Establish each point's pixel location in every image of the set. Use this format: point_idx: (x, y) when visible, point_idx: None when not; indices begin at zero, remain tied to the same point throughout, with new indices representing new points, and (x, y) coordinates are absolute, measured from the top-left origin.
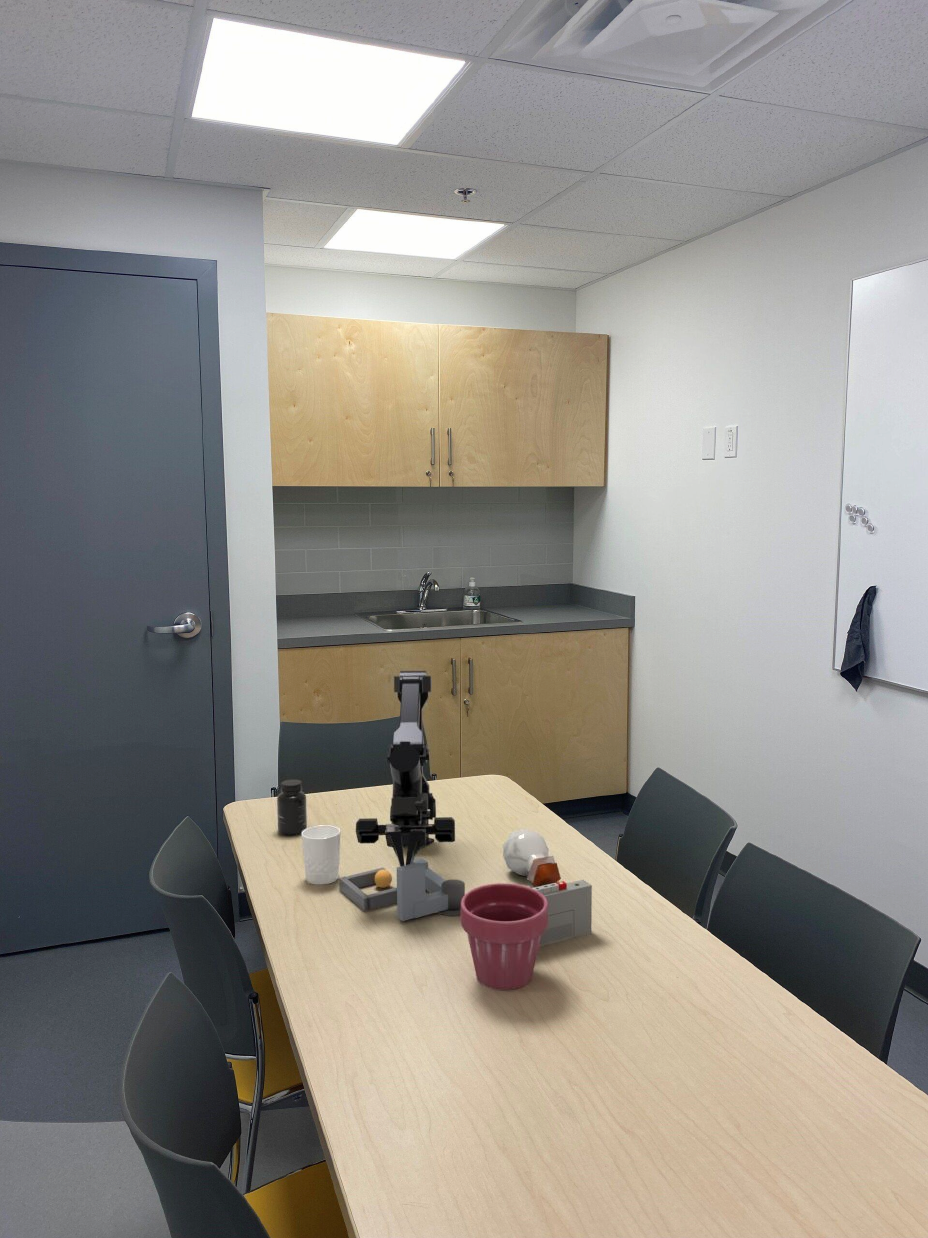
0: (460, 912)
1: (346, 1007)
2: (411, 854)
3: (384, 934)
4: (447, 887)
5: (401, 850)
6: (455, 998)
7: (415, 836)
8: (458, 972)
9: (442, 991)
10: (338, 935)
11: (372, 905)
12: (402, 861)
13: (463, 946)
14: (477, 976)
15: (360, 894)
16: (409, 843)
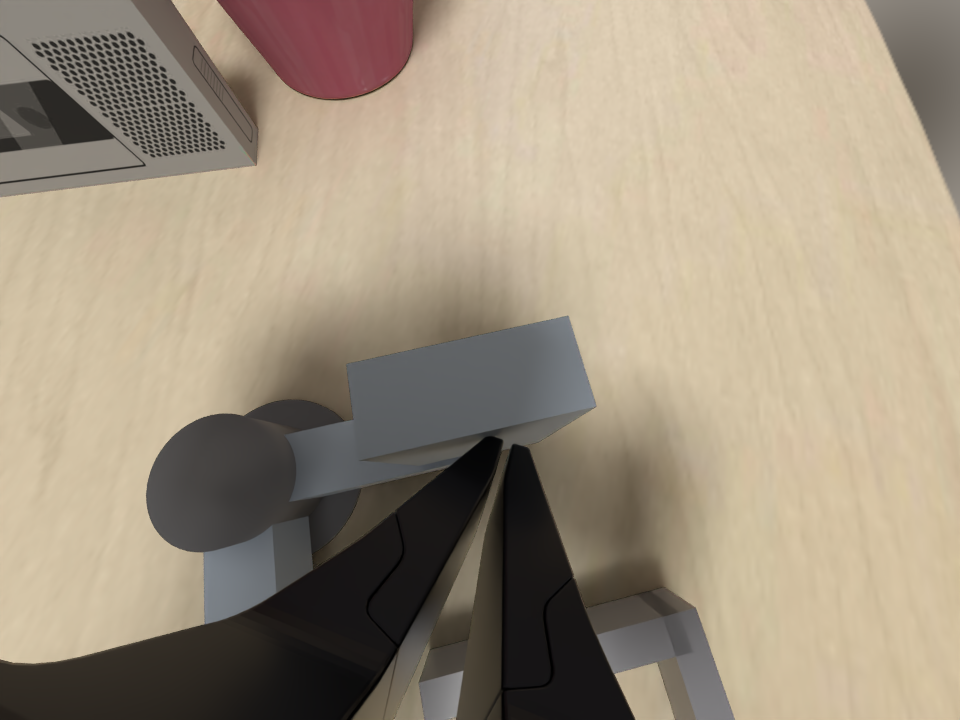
0: (280, 411)
1: (752, 32)
2: (408, 515)
3: (606, 351)
4: (260, 446)
5: (521, 600)
6: (490, 4)
7: (168, 690)
8: (444, 88)
9: (511, 31)
10: (781, 400)
11: (631, 604)
12: (520, 499)
13: (376, 199)
14: (412, 30)
15: (713, 682)
16: (371, 657)
